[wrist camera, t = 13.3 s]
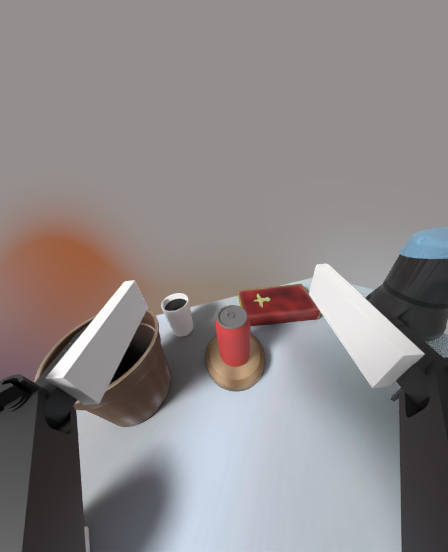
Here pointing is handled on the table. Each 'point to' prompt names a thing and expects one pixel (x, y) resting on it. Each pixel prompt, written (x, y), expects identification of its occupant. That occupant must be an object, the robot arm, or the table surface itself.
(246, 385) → the shallow wooden bowl
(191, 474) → the table surface
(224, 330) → the beer can
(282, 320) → the hardcover book
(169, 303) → the white cup
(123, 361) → the plant pot
